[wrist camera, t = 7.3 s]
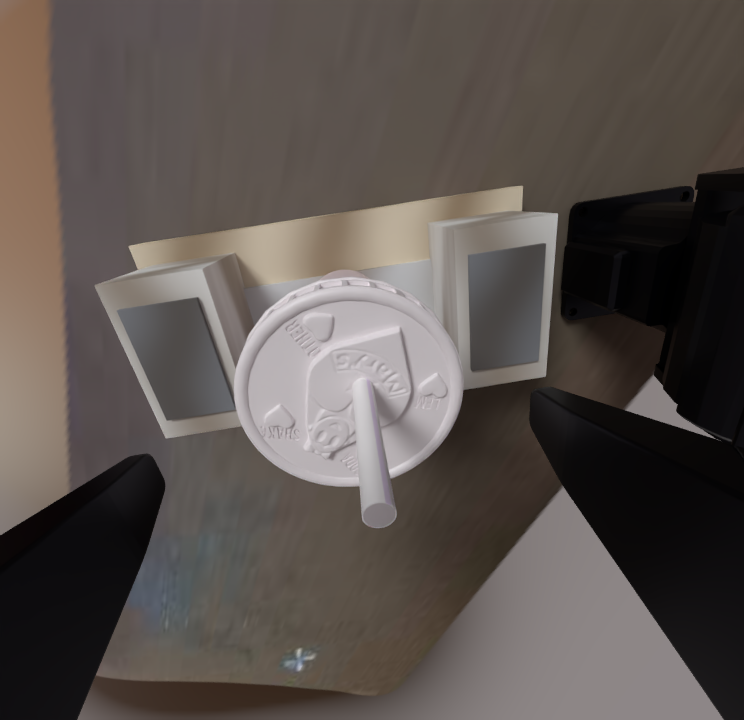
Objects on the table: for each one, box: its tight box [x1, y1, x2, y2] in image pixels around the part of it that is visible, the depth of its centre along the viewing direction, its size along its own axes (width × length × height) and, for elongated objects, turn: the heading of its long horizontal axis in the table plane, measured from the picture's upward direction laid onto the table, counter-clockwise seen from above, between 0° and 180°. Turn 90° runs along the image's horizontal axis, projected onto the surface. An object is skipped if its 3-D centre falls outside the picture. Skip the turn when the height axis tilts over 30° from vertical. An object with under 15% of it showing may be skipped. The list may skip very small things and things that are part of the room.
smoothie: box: [234, 270, 464, 528], centre depth 12 cm, size 6×6×14 cm
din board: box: [94, 186, 558, 438], centre depth 17 cm, size 19×9×6 cm, turn 98°
